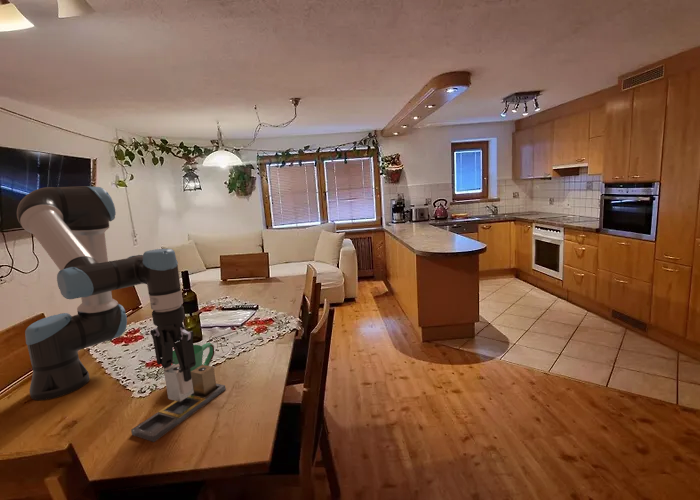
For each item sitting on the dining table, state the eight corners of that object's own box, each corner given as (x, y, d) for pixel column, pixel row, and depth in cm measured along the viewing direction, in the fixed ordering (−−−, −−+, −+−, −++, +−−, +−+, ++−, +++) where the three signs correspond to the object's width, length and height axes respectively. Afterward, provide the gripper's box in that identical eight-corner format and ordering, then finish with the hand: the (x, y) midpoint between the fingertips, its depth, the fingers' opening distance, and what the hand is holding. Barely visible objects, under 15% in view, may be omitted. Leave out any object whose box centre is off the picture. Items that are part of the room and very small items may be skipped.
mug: (186, 391, 108) (181, 360, 107) (167, 384, 113) (162, 354, 112) (225, 369, 120) (221, 341, 119) (206, 364, 125) (202, 337, 124)
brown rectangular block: (193, 397, 104) (190, 371, 102) (205, 389, 108) (202, 364, 106) (205, 400, 102) (201, 373, 100) (217, 391, 106) (213, 366, 105)
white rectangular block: (168, 398, 96) (163, 371, 94) (182, 390, 100) (177, 363, 98) (180, 401, 94) (175, 373, 93) (193, 392, 98) (189, 365, 97)
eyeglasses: (207, 348, 140) (205, 336, 139) (237, 335, 152) (236, 324, 152) (232, 356, 131) (231, 344, 130) (263, 341, 143) (262, 329, 143)
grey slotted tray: (132, 436, 88) (131, 429, 88) (206, 386, 110) (205, 381, 110) (154, 443, 85) (153, 436, 85) (225, 390, 107) (225, 385, 106)
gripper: (131, 310, 93) (145, 392, 97) (179, 314, 86) (192, 403, 90) (157, 301, 100) (169, 378, 103) (203, 305, 93) (214, 387, 96)
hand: (180, 389), depth 96 cm, fingers closed on white rectangular block, 4 cm apart
